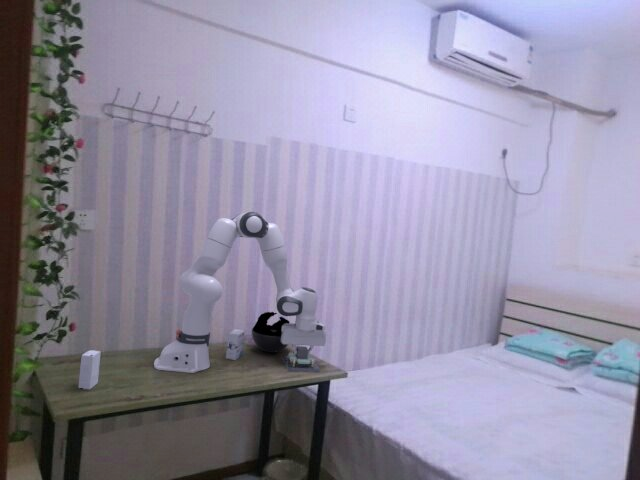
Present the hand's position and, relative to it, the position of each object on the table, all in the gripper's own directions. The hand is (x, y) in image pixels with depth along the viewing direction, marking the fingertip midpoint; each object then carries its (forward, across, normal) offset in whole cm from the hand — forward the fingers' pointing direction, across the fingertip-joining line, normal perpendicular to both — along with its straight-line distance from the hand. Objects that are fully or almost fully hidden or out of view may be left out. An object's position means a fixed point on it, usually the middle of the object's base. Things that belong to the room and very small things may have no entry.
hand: (301, 354), depth 219 cm
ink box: (+5, -29, +9) cm, 31 cm away
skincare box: (+5, -82, -29) cm, 87 cm away
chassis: (+5, 0, 0) cm, 5 cm away
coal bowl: (+5, -11, +19) cm, 23 cm away
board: (+2, 0, 0) cm, 2 cm away
